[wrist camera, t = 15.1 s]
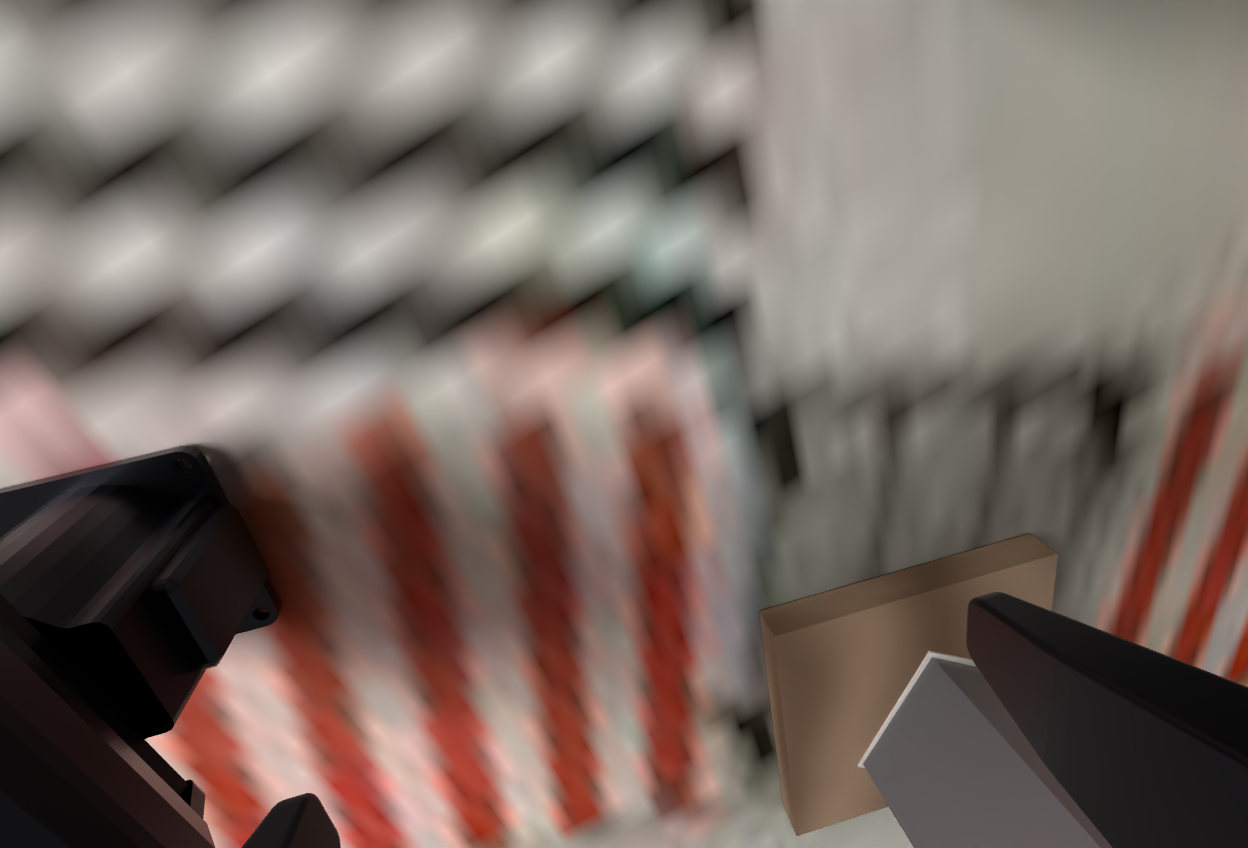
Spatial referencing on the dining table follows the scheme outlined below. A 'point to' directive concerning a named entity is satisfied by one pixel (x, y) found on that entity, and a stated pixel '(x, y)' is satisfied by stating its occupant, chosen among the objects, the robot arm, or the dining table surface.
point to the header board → (874, 665)
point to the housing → (970, 771)
